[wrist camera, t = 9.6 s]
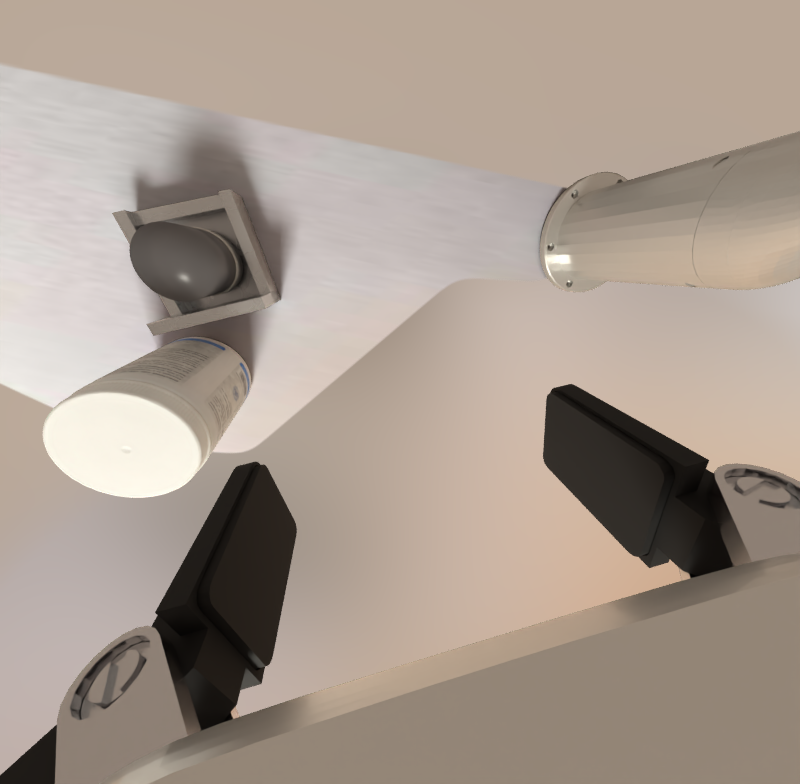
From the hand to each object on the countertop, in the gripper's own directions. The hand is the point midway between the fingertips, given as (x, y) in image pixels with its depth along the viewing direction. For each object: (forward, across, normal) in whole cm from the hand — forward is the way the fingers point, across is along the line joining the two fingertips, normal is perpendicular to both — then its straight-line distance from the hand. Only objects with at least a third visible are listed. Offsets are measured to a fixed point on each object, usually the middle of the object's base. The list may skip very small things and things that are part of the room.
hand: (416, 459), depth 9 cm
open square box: (+27, +14, -8) cm, 31 cm away
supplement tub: (+27, +20, +3) cm, 33 cm away
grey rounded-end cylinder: (+26, +14, -8) cm, 31 cm away
